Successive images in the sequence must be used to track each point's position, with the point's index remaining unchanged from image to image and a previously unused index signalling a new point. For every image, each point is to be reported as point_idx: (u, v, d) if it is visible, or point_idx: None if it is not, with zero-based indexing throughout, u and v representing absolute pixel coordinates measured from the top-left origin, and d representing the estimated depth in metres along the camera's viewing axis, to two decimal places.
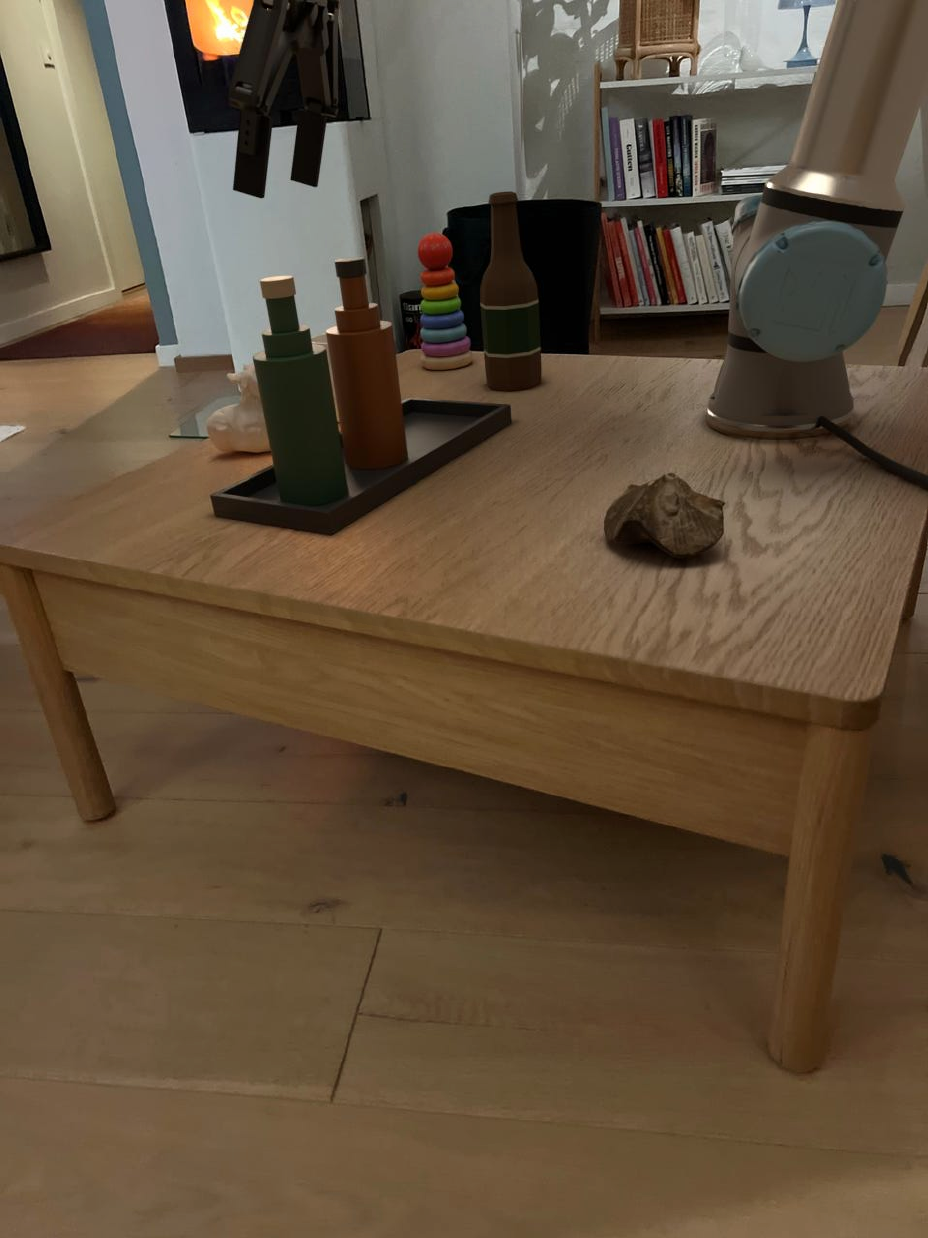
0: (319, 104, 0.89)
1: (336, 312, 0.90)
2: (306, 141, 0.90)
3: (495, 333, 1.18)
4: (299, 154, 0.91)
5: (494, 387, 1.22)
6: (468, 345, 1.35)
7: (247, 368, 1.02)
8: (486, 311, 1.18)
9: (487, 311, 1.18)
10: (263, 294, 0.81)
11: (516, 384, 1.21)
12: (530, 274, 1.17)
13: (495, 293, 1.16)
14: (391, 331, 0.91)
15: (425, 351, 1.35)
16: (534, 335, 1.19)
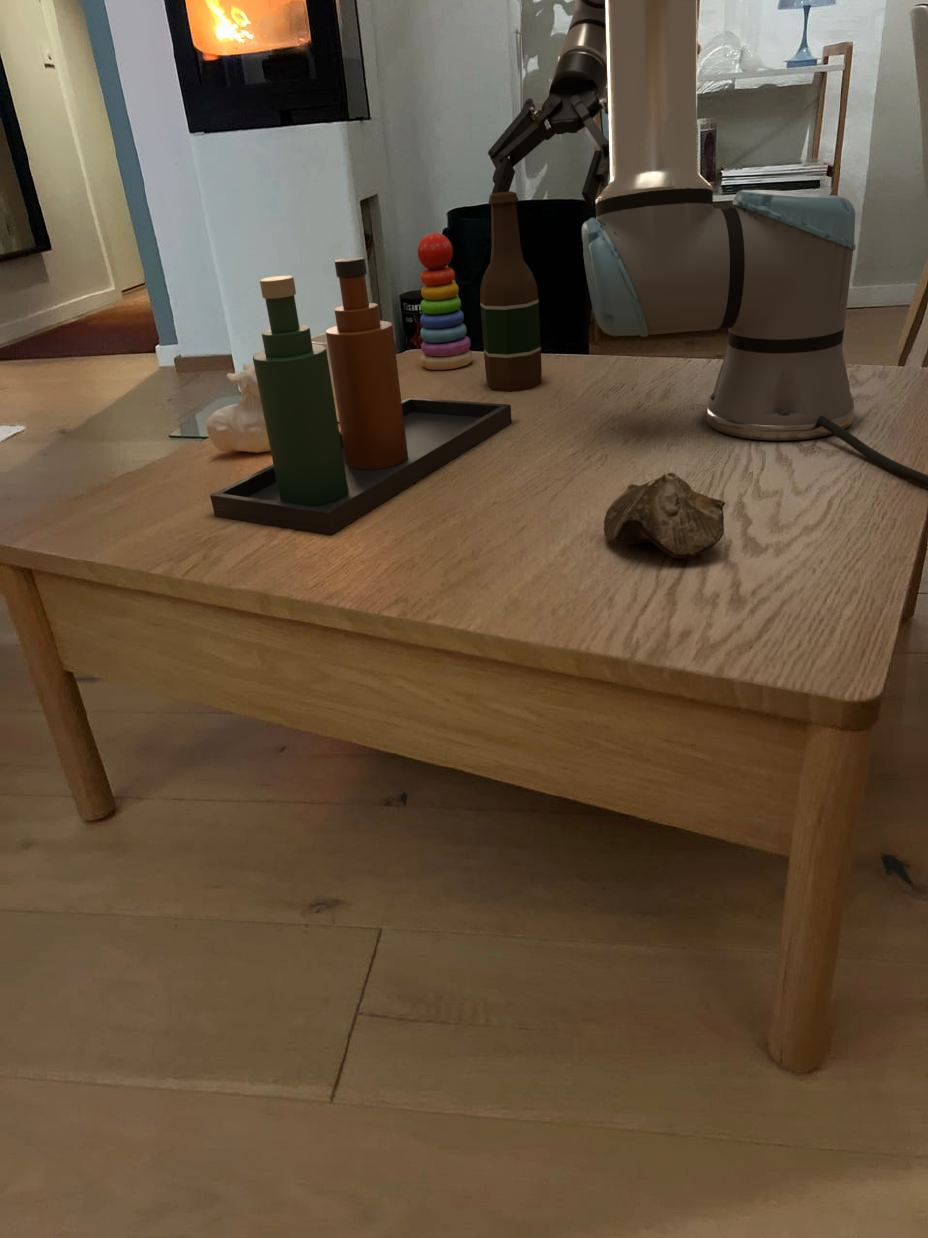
0: None
1: (336, 312, 0.90)
2: None
3: (495, 333, 1.18)
4: None
5: (494, 387, 1.22)
6: (468, 345, 1.35)
7: (247, 368, 1.02)
8: (486, 311, 1.18)
9: (487, 311, 1.18)
10: (263, 294, 0.81)
11: (517, 384, 1.21)
12: (530, 274, 1.17)
13: (495, 293, 1.16)
14: (391, 331, 0.91)
15: (425, 351, 1.35)
16: (534, 335, 1.19)
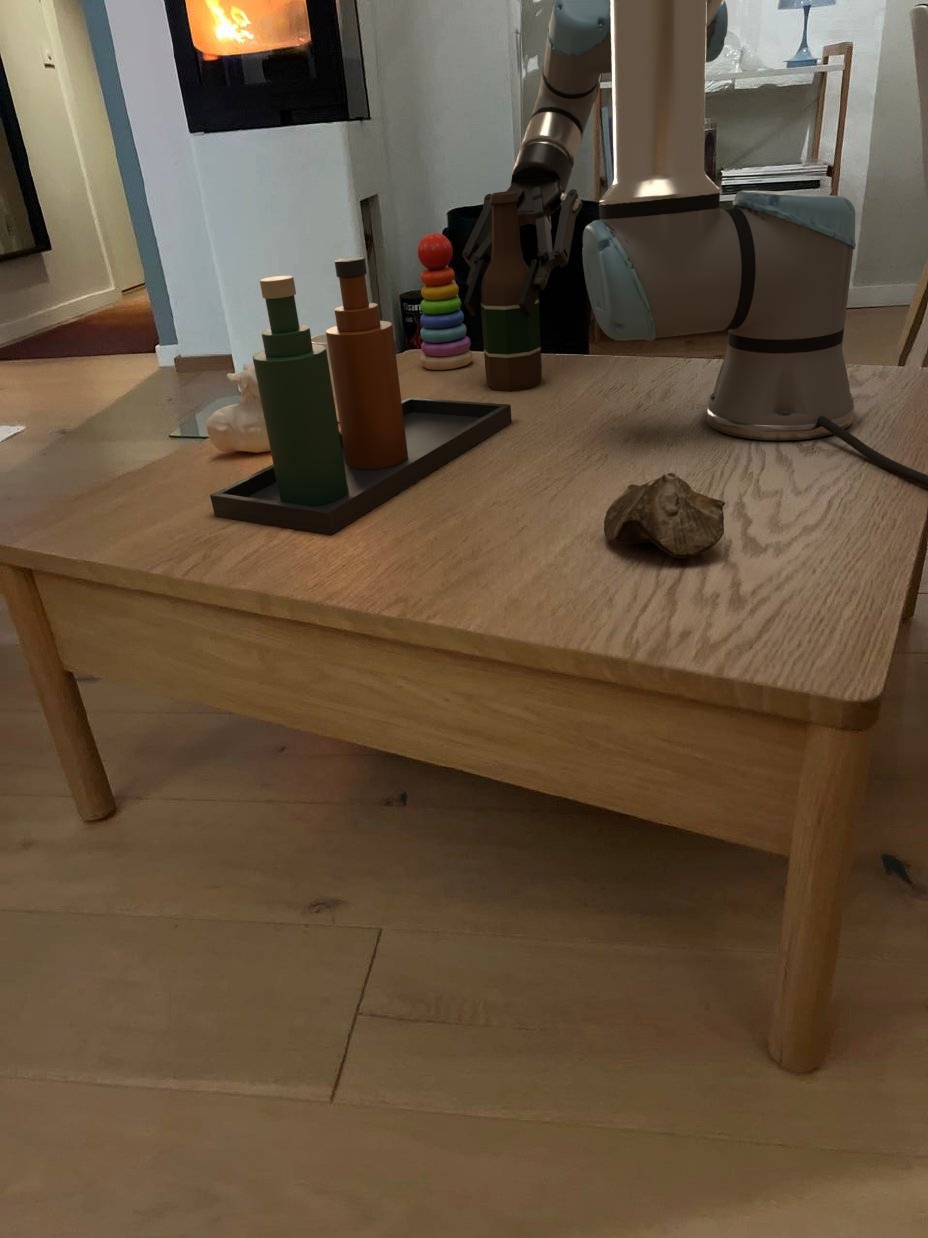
0: None
1: (336, 312, 0.90)
2: None
3: (495, 333, 1.18)
4: None
5: (494, 387, 1.22)
6: (468, 345, 1.35)
7: (247, 368, 1.02)
8: (486, 311, 1.18)
9: (487, 311, 1.18)
10: (263, 294, 0.81)
11: (516, 384, 1.21)
12: None
13: (495, 293, 1.16)
14: (391, 331, 0.91)
15: (425, 351, 1.35)
16: (534, 336, 1.19)
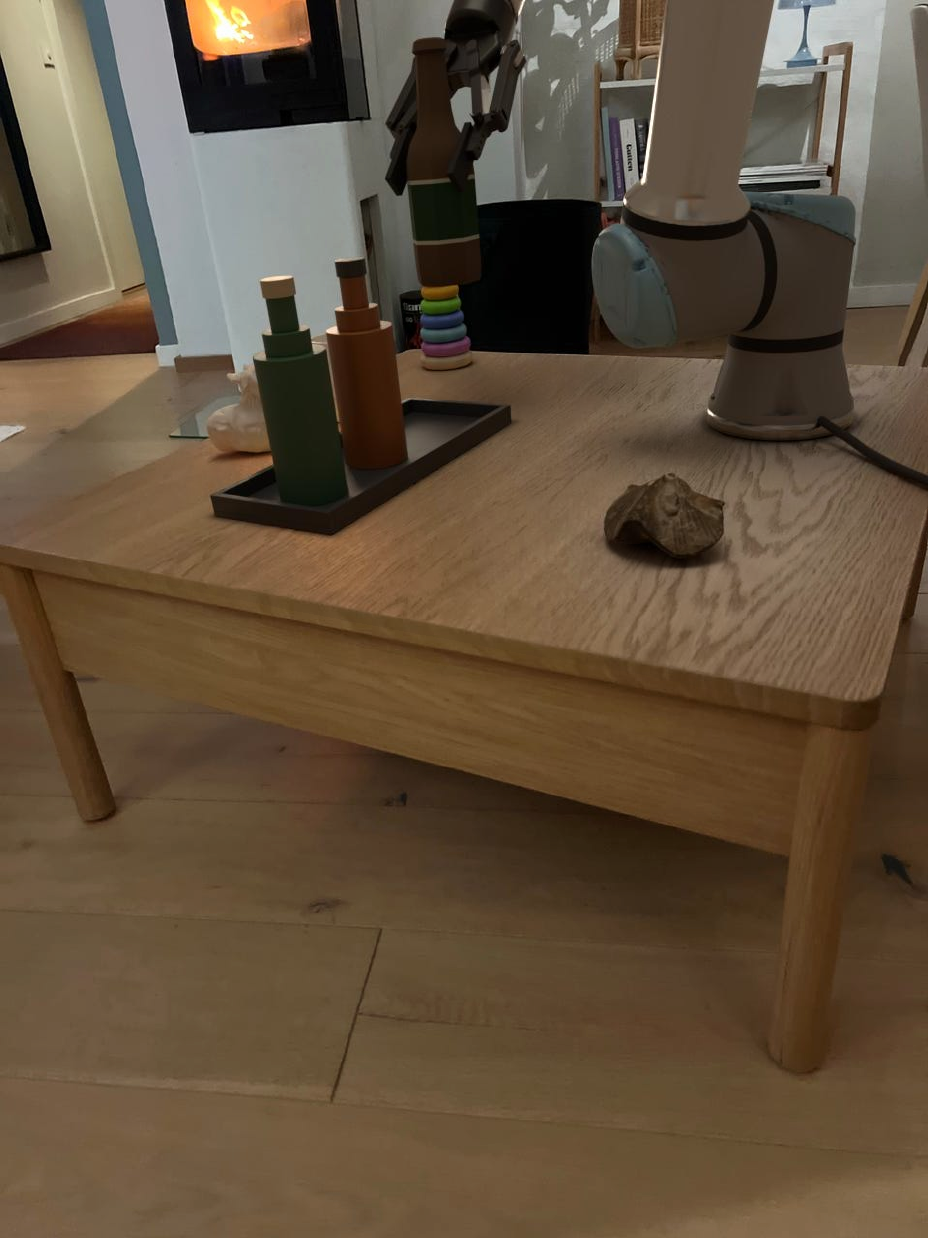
0: None
1: (336, 312, 0.90)
2: None
3: (423, 214, 0.99)
4: None
5: (424, 283, 1.03)
6: (468, 345, 1.35)
7: (247, 368, 1.02)
8: (412, 187, 0.99)
9: (413, 188, 0.99)
10: (263, 294, 0.81)
11: (450, 278, 1.02)
12: None
13: (421, 164, 0.97)
14: (391, 331, 0.91)
15: (425, 351, 1.35)
16: (470, 219, 1.00)
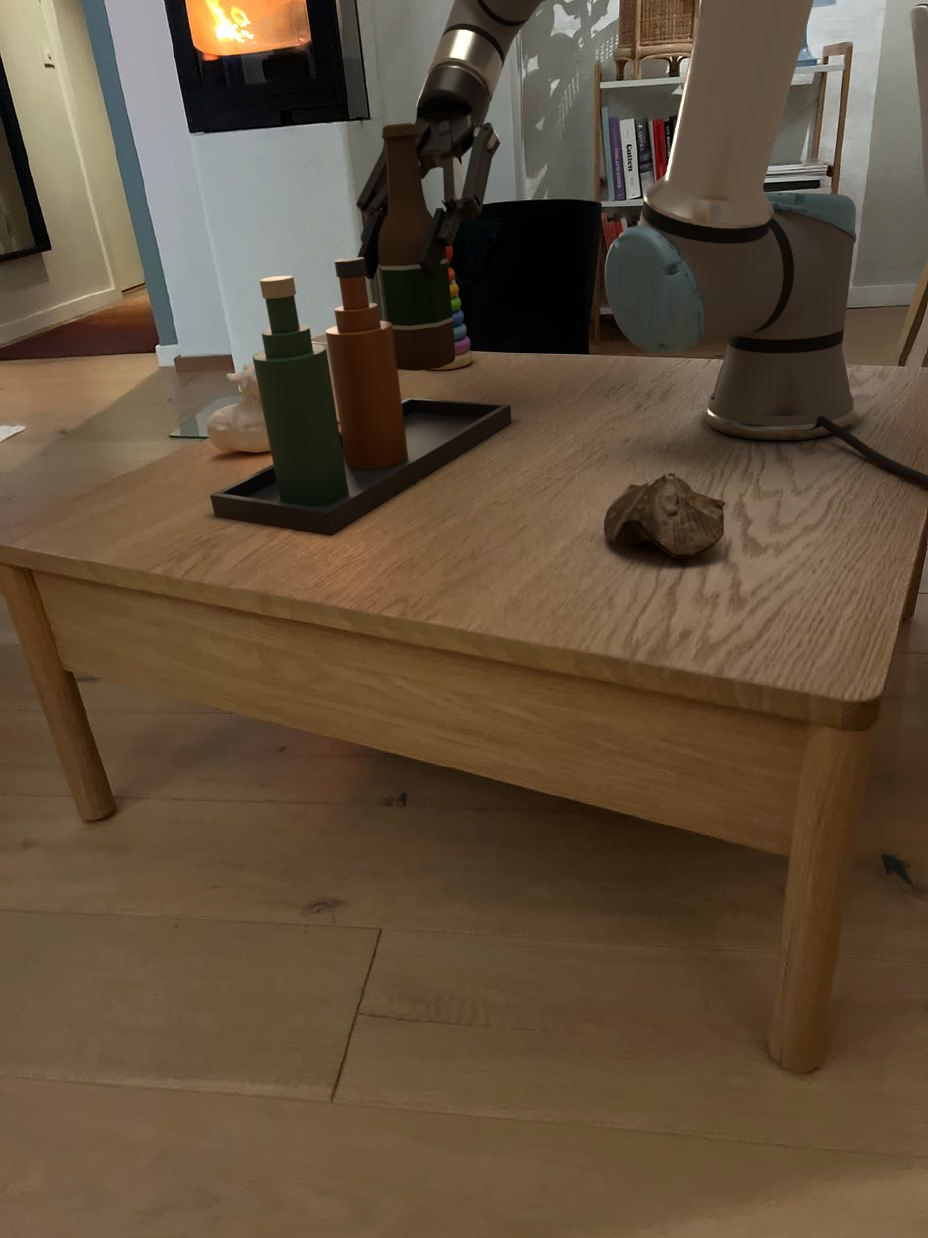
0: None
1: (336, 312, 0.90)
2: None
3: (394, 299, 0.97)
4: None
5: (397, 366, 1.01)
6: (468, 345, 1.35)
7: (247, 368, 1.02)
8: (383, 272, 0.96)
9: (384, 273, 0.96)
10: (263, 294, 0.81)
11: (423, 363, 1.00)
12: None
13: (391, 250, 0.95)
14: (391, 331, 0.91)
15: None
16: (443, 303, 0.98)
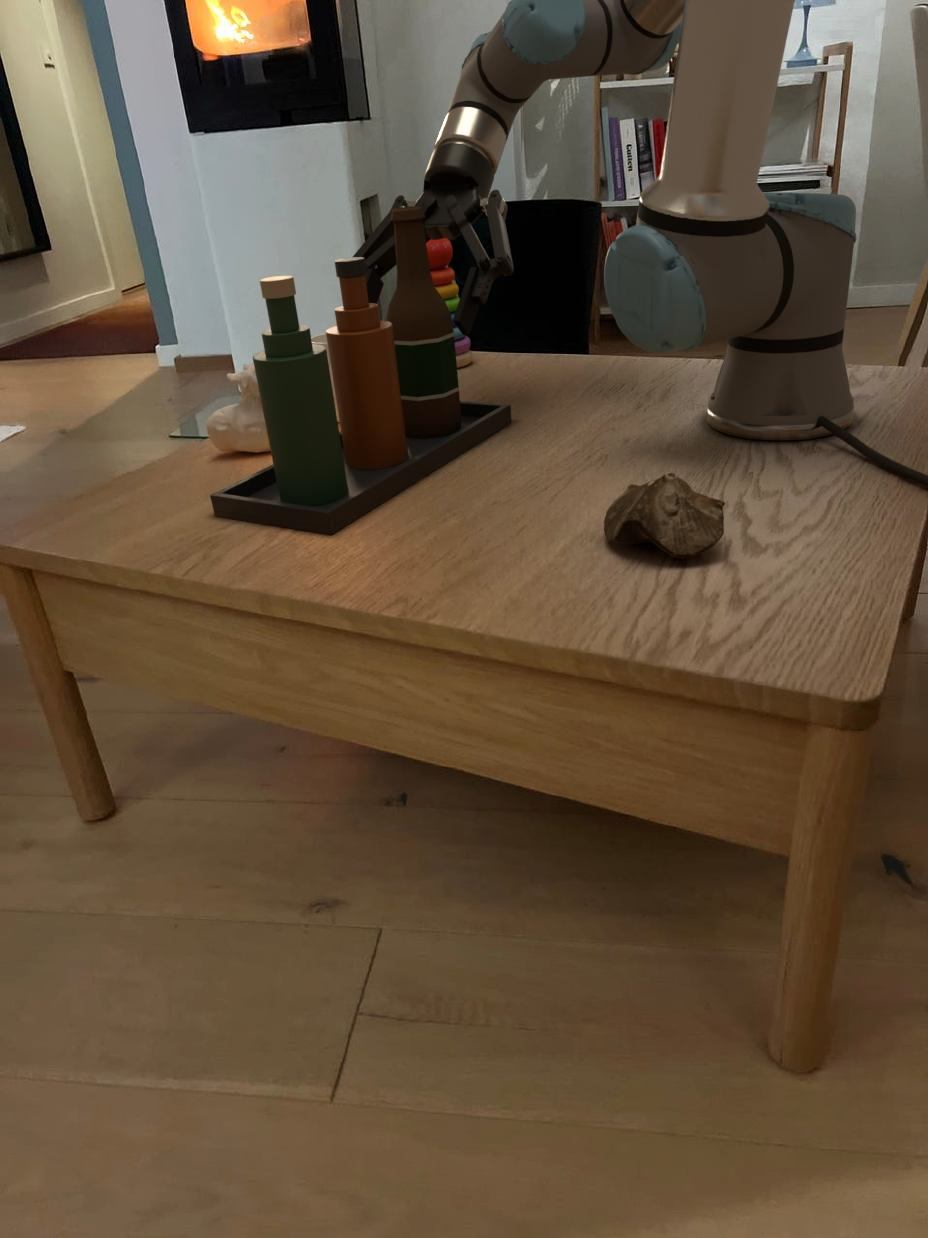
0: None
1: (336, 312, 0.90)
2: None
3: (403, 372, 1.01)
4: None
5: (405, 434, 1.05)
6: (468, 345, 1.35)
7: (247, 368, 1.02)
8: None
9: None
10: (263, 294, 0.81)
11: (430, 431, 1.03)
12: (442, 303, 0.99)
13: (400, 326, 0.98)
14: (391, 331, 0.91)
15: None
16: (450, 375, 1.02)
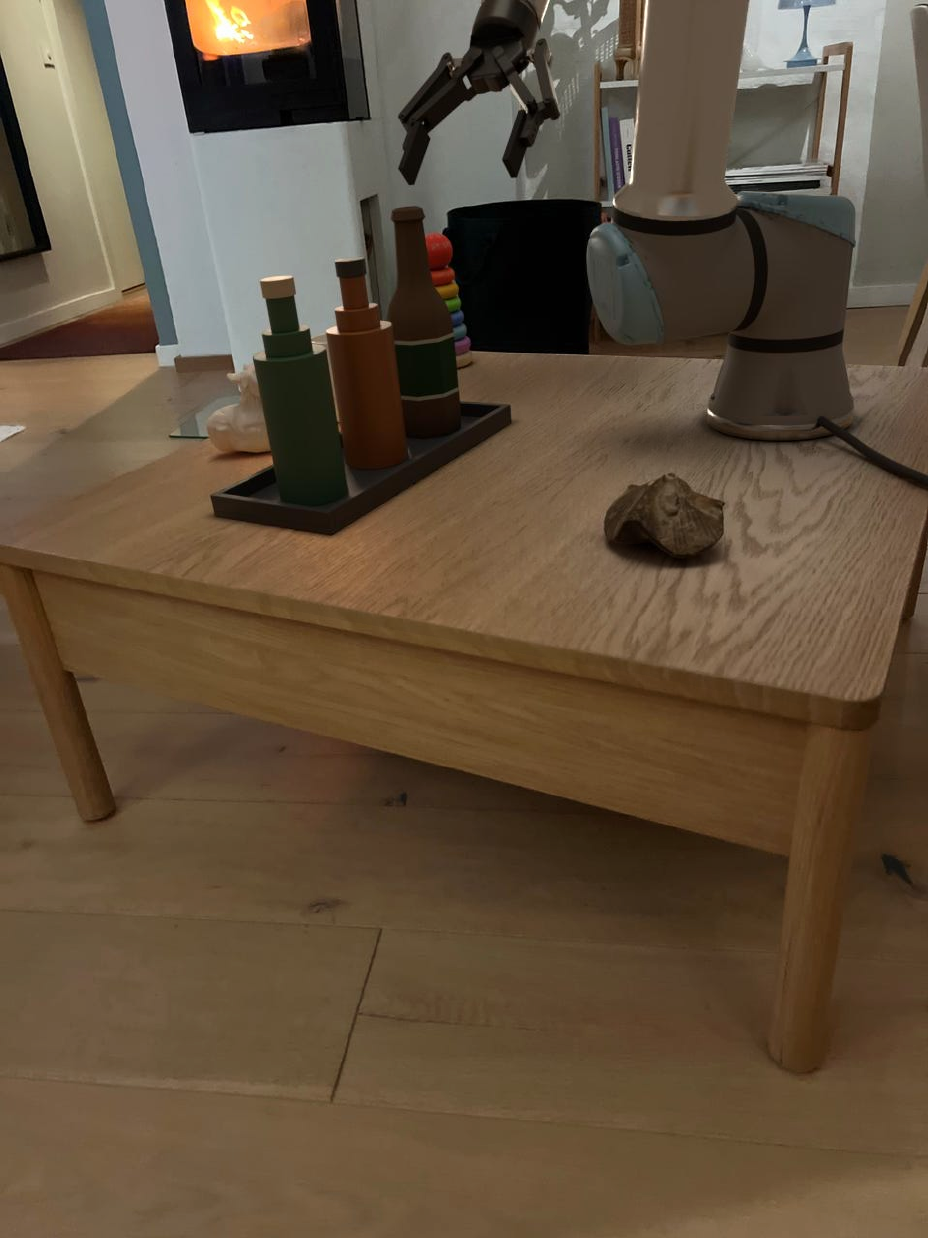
0: None
1: (336, 312, 0.90)
2: None
3: (403, 372, 1.01)
4: None
5: (405, 434, 1.05)
6: (468, 345, 1.35)
7: (247, 368, 1.02)
8: None
9: None
10: (263, 294, 0.81)
11: (430, 431, 1.03)
12: (442, 303, 0.99)
13: (400, 326, 0.98)
14: (391, 331, 0.91)
15: None
16: (450, 375, 1.02)
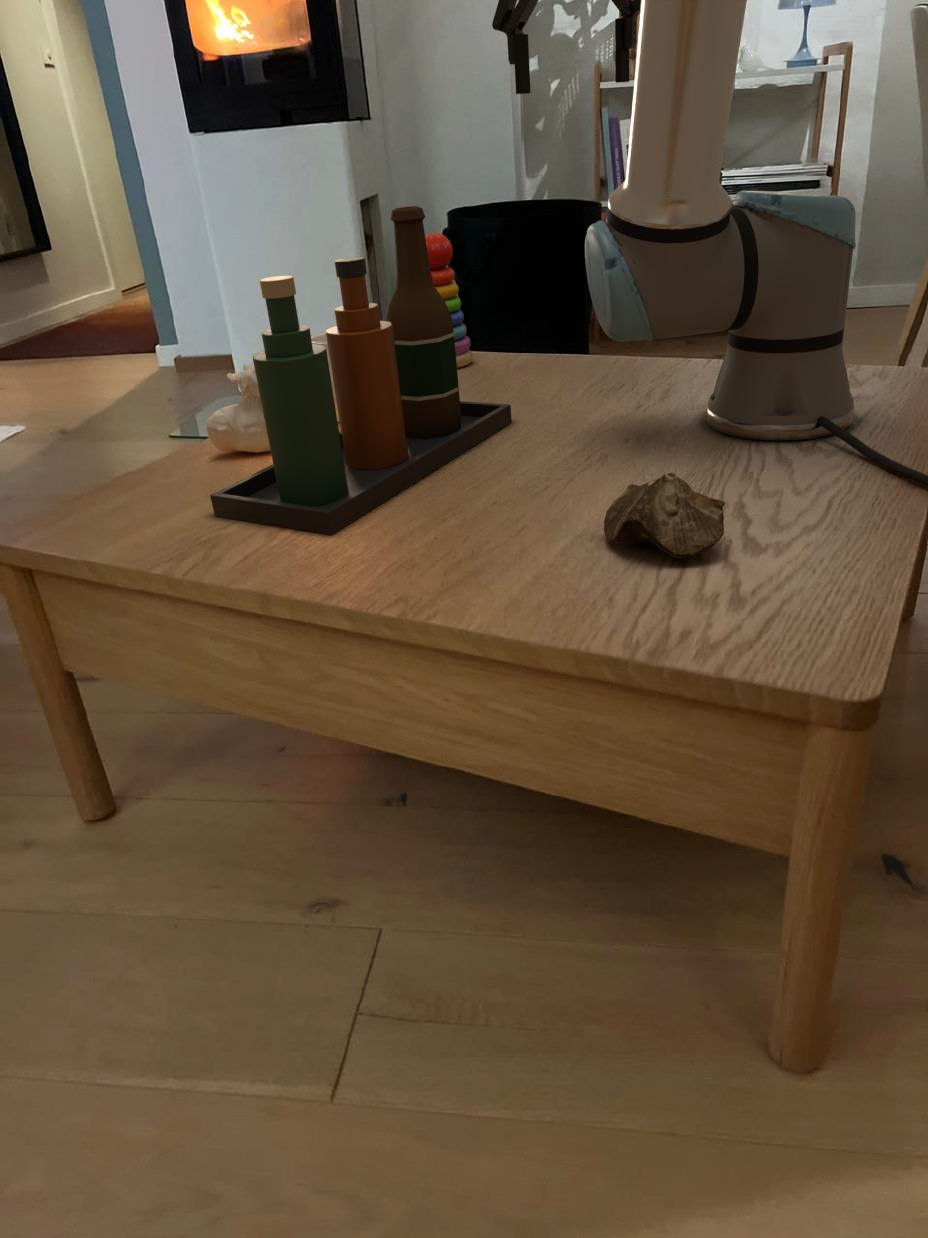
0: None
1: (336, 312, 0.90)
2: None
3: (403, 372, 1.01)
4: None
5: (405, 434, 1.05)
6: (468, 345, 1.35)
7: (247, 368, 1.02)
8: None
9: None
10: (263, 294, 0.81)
11: (430, 431, 1.03)
12: (442, 303, 0.99)
13: (400, 326, 0.98)
14: (391, 331, 0.91)
15: None
16: (450, 375, 1.02)
